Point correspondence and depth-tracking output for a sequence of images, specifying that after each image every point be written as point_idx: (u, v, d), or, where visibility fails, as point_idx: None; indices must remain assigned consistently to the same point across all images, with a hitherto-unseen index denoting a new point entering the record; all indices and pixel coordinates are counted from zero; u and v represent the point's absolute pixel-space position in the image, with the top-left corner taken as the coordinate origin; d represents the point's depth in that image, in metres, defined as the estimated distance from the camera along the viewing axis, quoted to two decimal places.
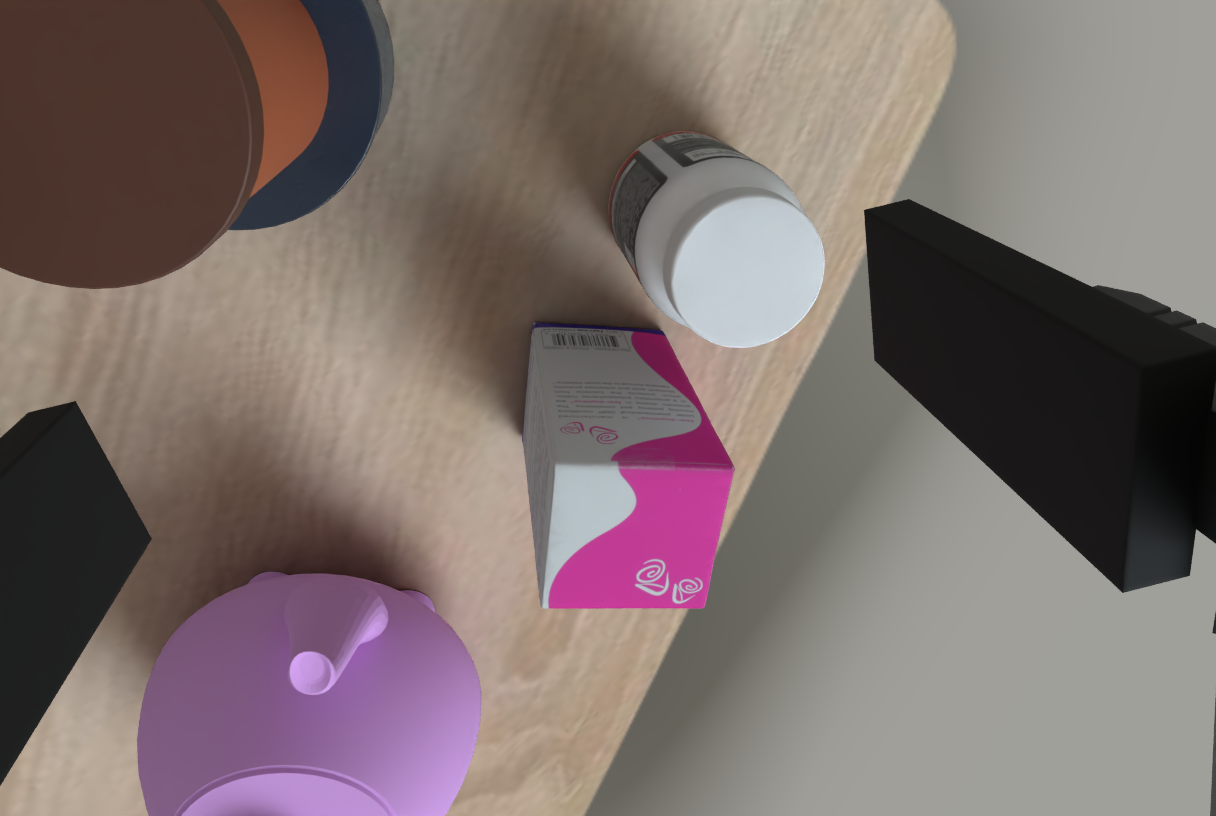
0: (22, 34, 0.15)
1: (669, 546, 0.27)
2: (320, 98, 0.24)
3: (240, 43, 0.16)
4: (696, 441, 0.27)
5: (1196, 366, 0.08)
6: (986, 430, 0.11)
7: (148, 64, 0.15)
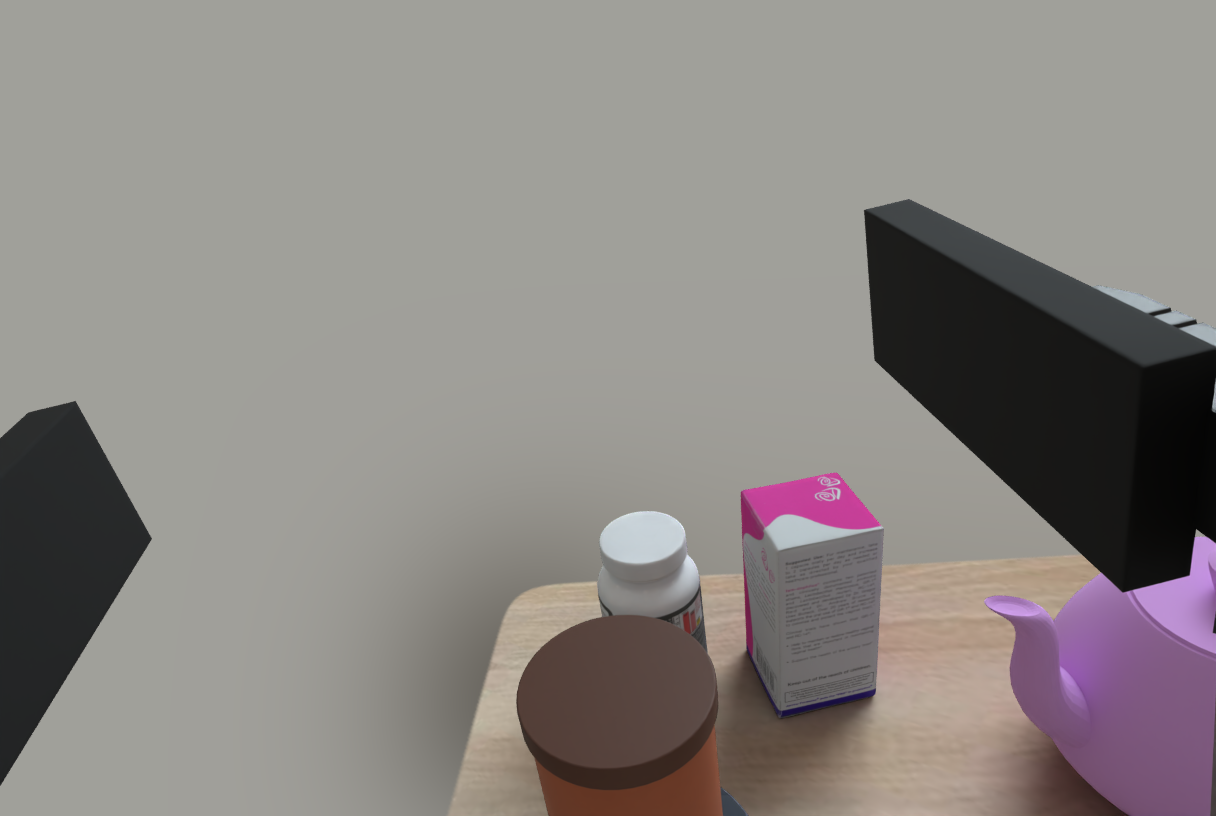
0: (581, 699, 0.28)
1: (803, 495, 0.45)
2: None
3: None
4: (745, 522, 0.46)
5: (1196, 366, 0.08)
6: (986, 430, 0.11)
7: (580, 654, 0.30)
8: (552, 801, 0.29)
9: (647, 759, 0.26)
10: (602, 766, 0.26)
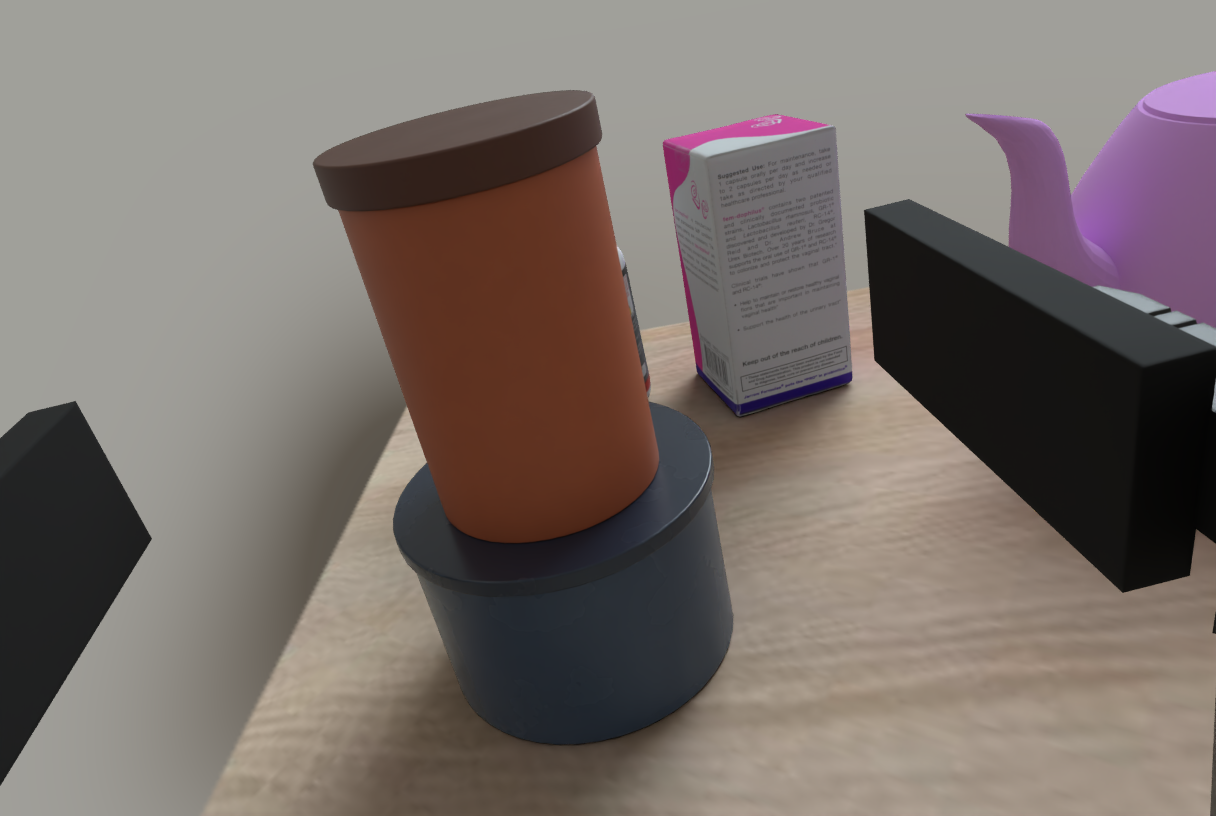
0: (404, 139, 0.20)
1: (737, 128, 0.36)
2: None
3: None
4: (671, 178, 0.37)
5: (1196, 366, 0.08)
6: (986, 430, 0.11)
7: (413, 126, 0.22)
8: (379, 297, 0.20)
9: (485, 139, 0.17)
10: (418, 154, 0.17)
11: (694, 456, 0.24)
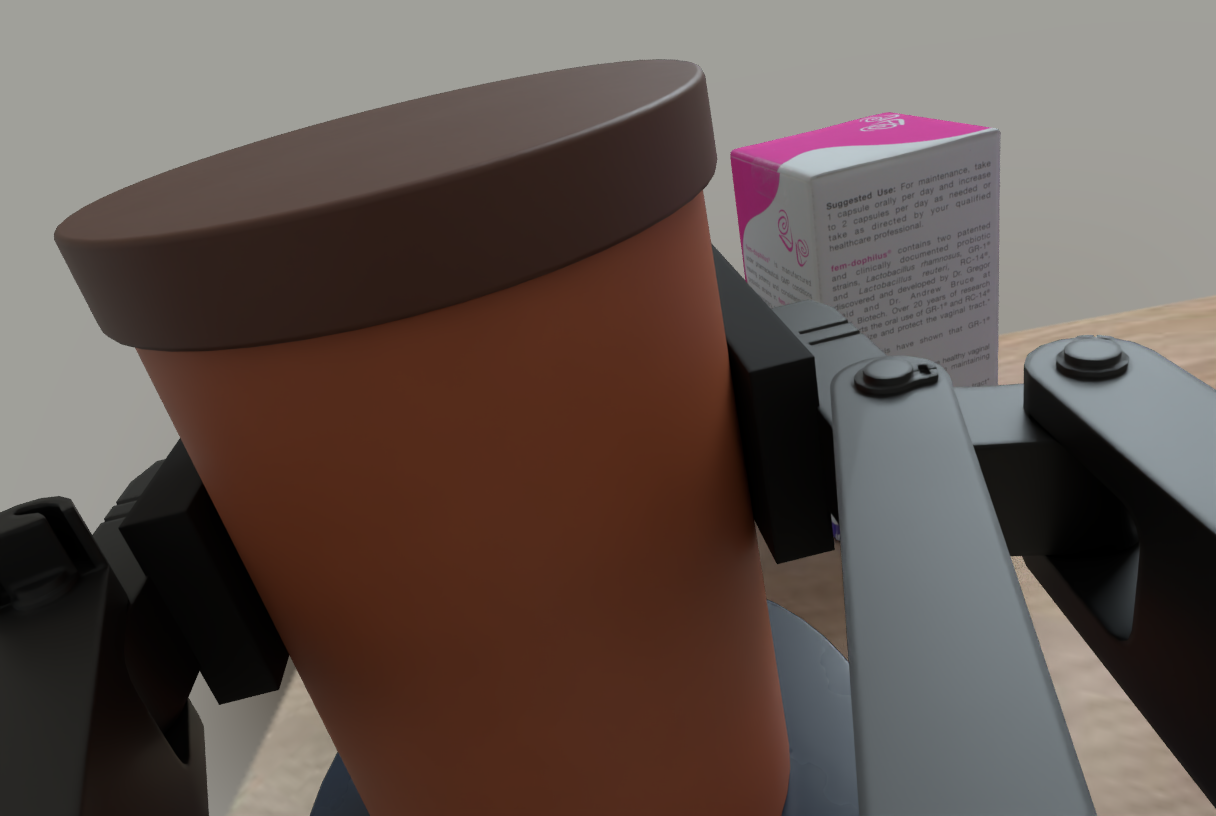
0: (276, 165, 0.09)
1: (839, 133, 0.25)
2: None
3: None
4: (743, 203, 0.26)
5: (797, 371, 0.10)
6: None
7: (316, 135, 0.11)
8: (223, 517, 0.09)
9: (446, 174, 0.06)
10: (263, 215, 0.06)
11: None
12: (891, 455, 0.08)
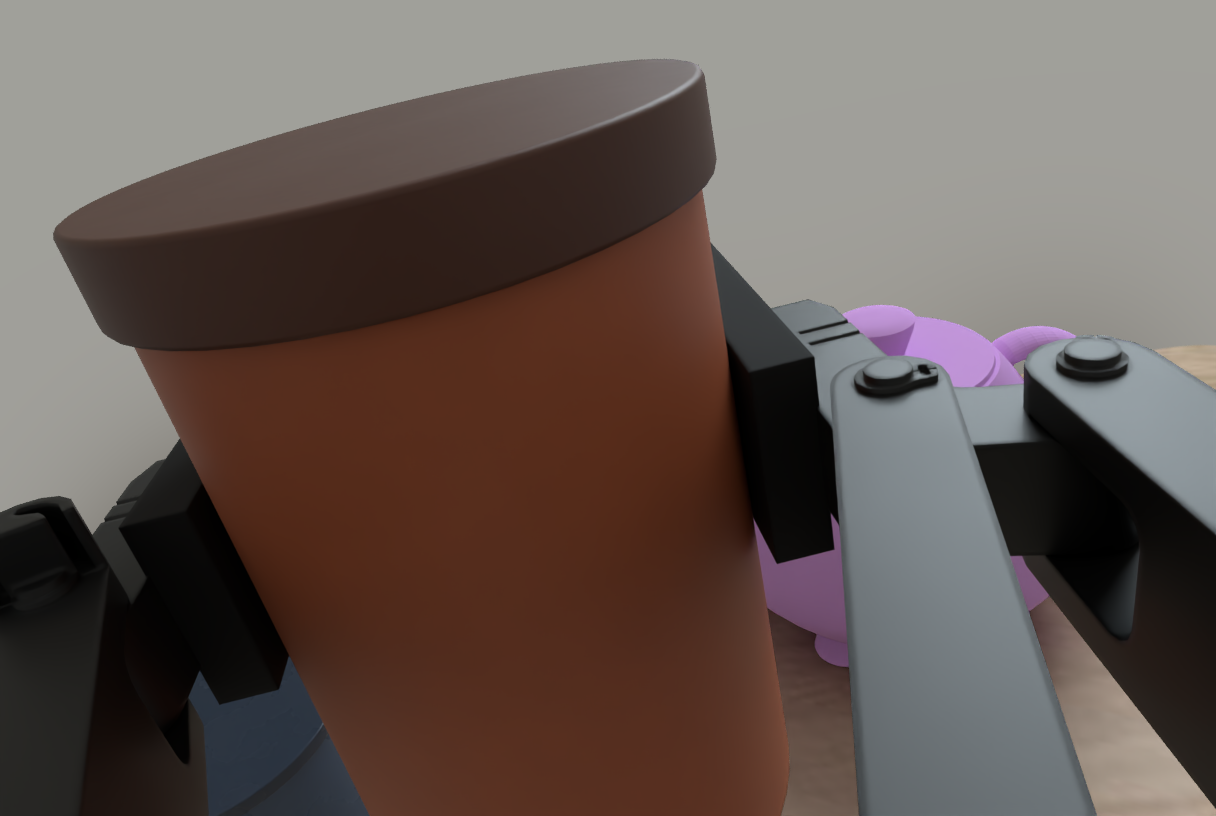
0: (276, 165, 0.09)
1: None
2: None
3: None
4: None
5: (797, 371, 0.10)
6: None
7: (314, 135, 0.11)
8: (222, 517, 0.09)
9: (446, 173, 0.06)
10: (262, 215, 0.06)
11: None
12: (891, 455, 0.08)
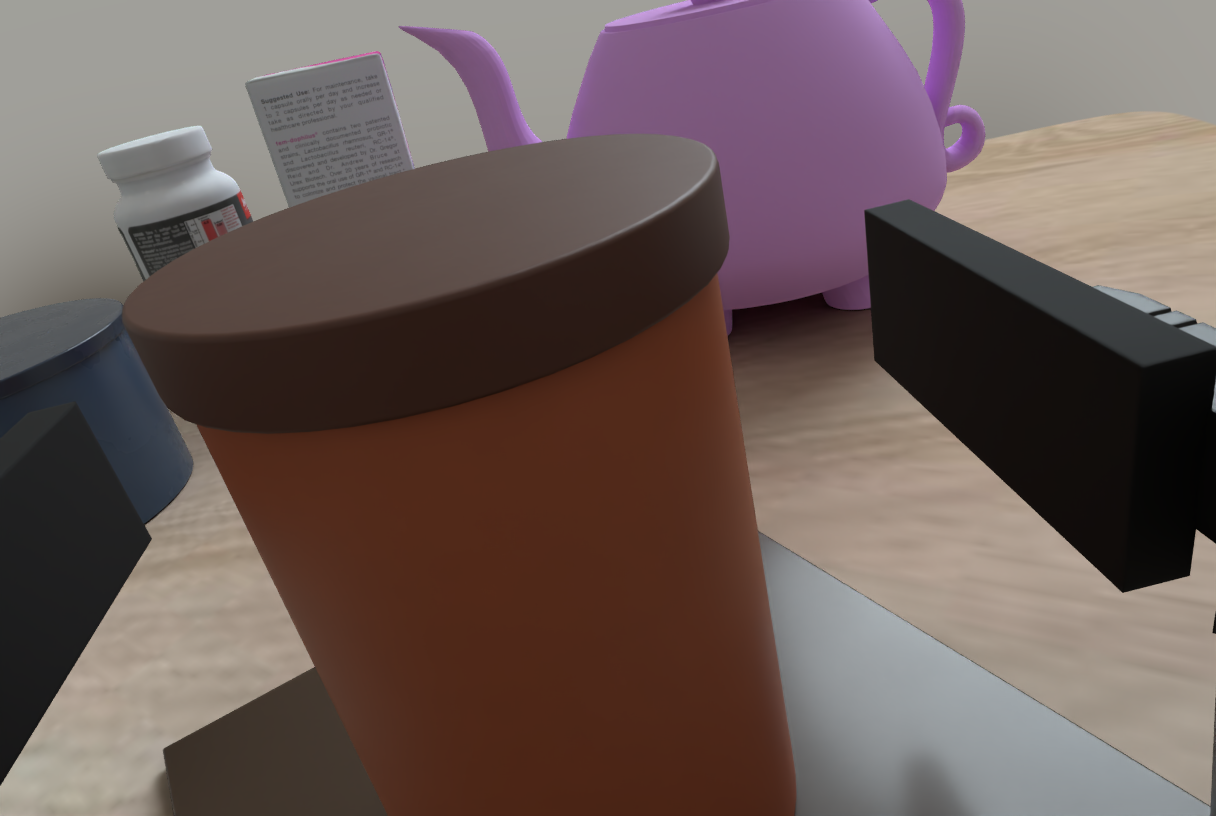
0: (321, 245, 0.09)
1: None
2: None
3: None
4: None
5: (1196, 366, 0.08)
6: (985, 430, 0.11)
7: (351, 205, 0.11)
8: (271, 570, 0.10)
9: (489, 280, 0.07)
10: (324, 318, 0.07)
11: (81, 335, 0.26)
12: None
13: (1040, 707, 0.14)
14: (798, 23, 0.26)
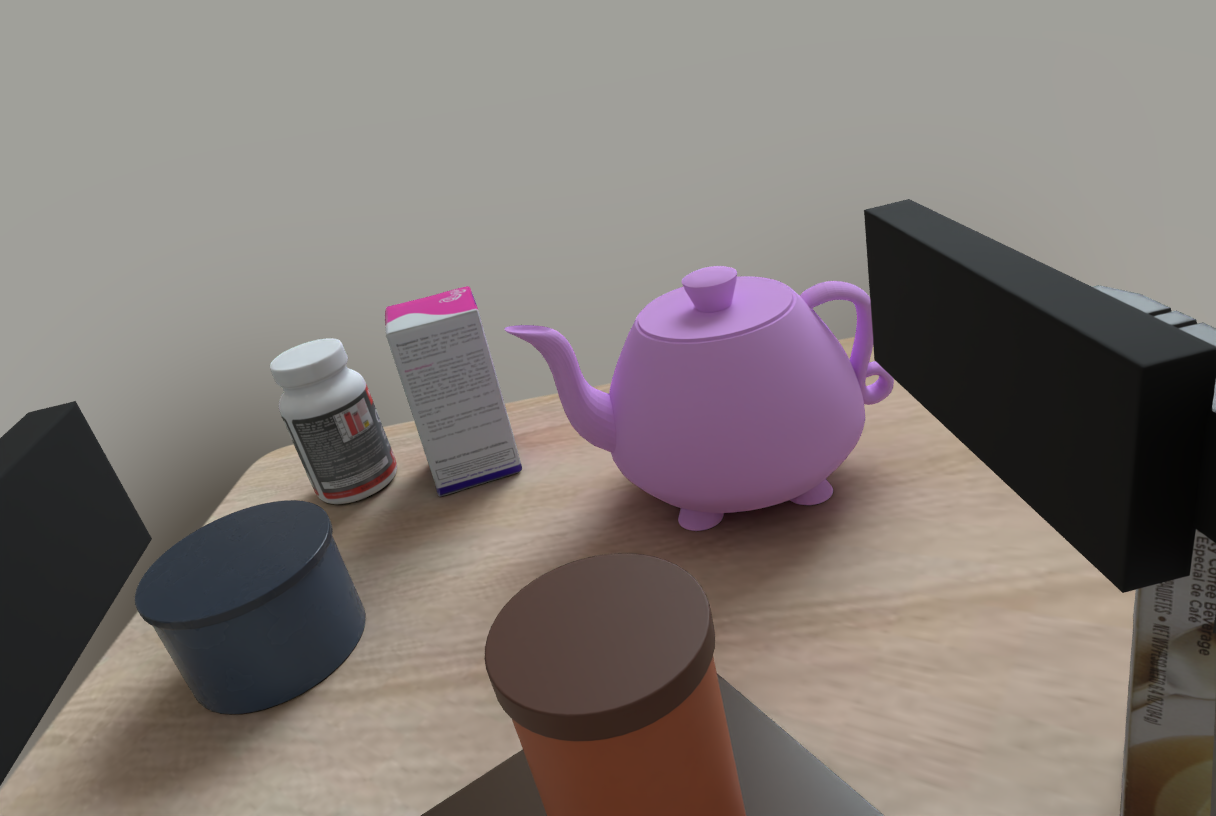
0: (558, 645, 0.25)
1: (431, 302, 0.54)
2: None
3: None
4: None
5: (1196, 366, 0.08)
6: (986, 429, 0.11)
7: (555, 600, 0.27)
8: (537, 768, 0.25)
9: (637, 698, 0.22)
10: (585, 712, 0.22)
11: (313, 544, 0.41)
12: None
13: (867, 803, 0.29)
14: (763, 348, 0.41)
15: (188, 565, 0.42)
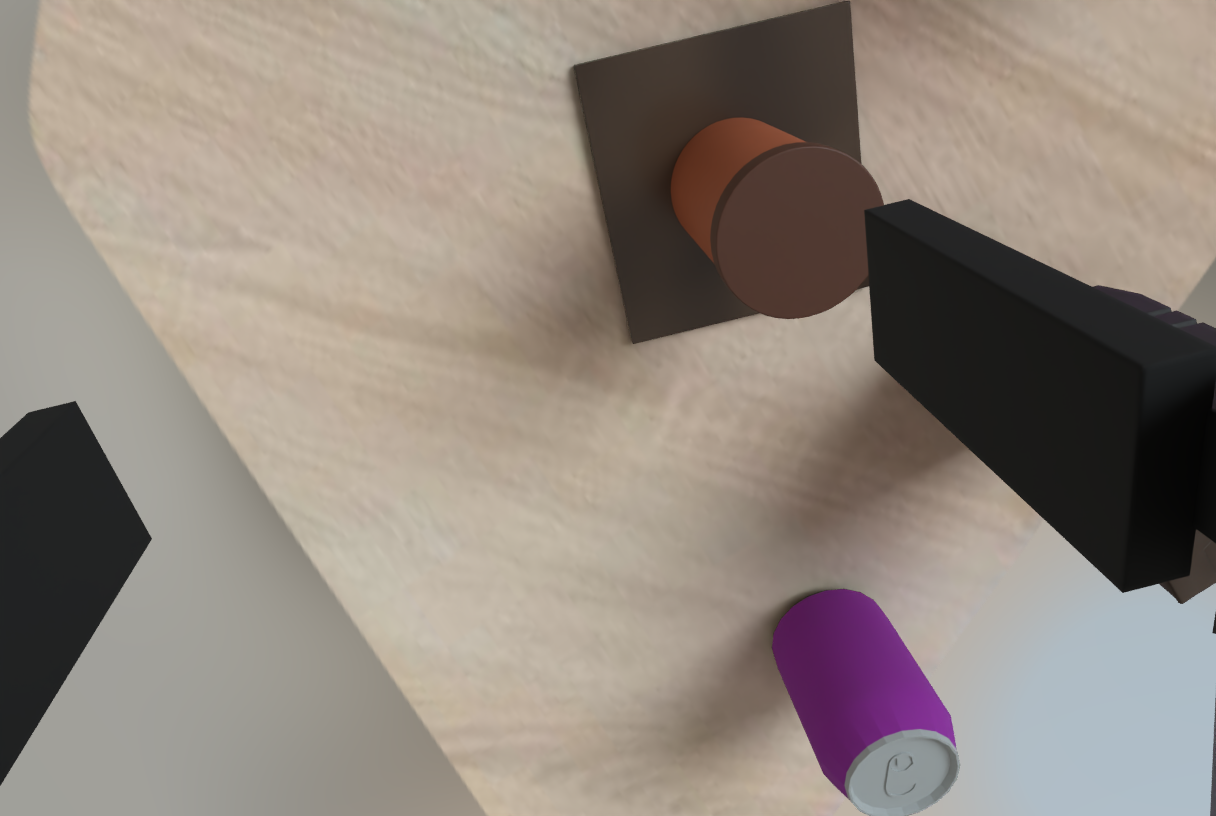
0: (770, 242, 0.33)
1: None
2: (761, 122, 0.40)
3: (777, 147, 0.32)
4: None
5: (1196, 366, 0.08)
6: (986, 430, 0.11)
7: (787, 190, 0.32)
8: (705, 246, 0.36)
9: (793, 315, 0.34)
10: (761, 311, 0.34)
11: None
12: None
13: None
14: None
15: None
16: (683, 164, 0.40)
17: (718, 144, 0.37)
